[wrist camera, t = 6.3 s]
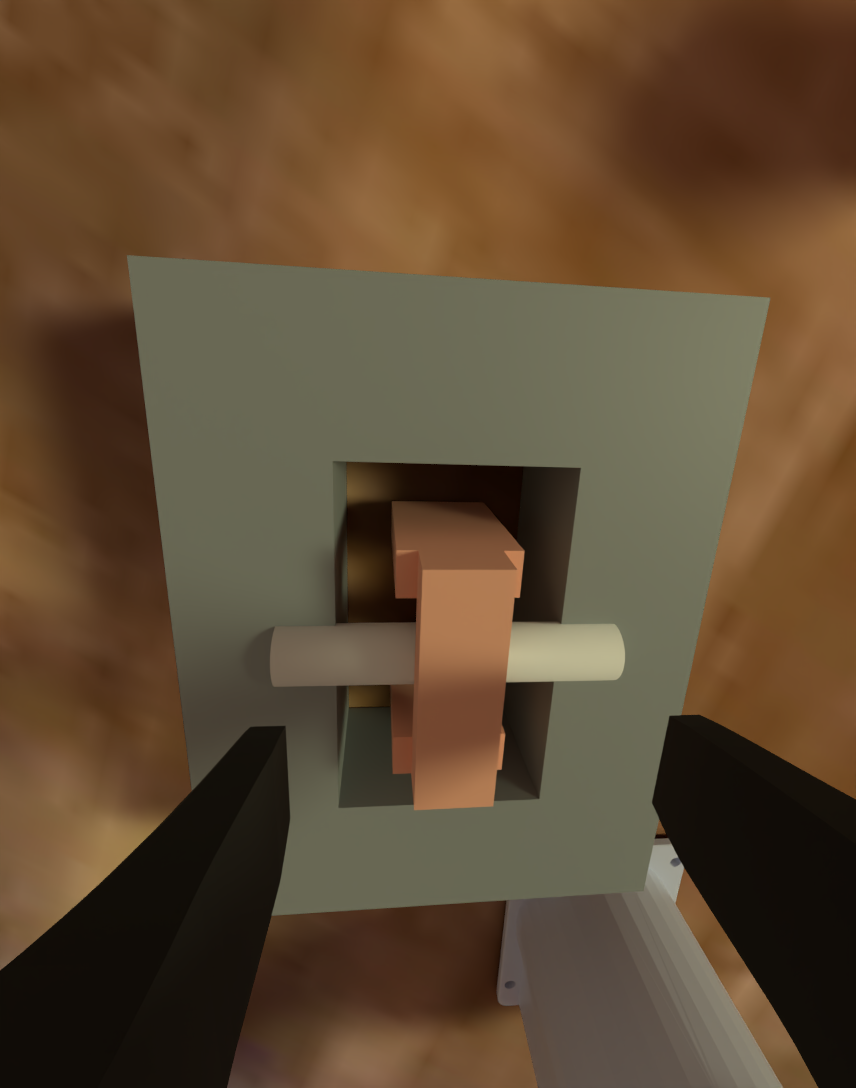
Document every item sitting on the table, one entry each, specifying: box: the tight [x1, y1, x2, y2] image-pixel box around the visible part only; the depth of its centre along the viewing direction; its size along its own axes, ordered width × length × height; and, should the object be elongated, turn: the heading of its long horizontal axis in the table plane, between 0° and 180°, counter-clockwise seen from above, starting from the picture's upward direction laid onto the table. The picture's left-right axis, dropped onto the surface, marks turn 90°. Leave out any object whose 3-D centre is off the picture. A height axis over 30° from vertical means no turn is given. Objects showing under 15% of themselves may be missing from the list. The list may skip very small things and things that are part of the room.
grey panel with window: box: [127, 255, 770, 916], centre depth 15 cm, size 18×14×6 cm
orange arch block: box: [390, 501, 525, 810], centre depth 14 cm, size 6×3×6 cm, turn 178°
